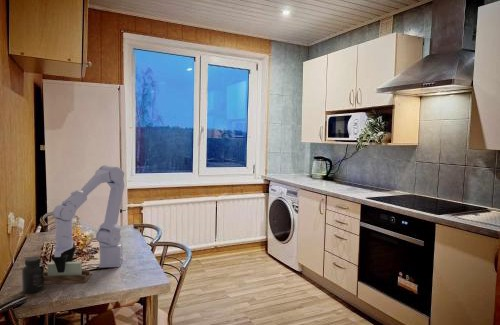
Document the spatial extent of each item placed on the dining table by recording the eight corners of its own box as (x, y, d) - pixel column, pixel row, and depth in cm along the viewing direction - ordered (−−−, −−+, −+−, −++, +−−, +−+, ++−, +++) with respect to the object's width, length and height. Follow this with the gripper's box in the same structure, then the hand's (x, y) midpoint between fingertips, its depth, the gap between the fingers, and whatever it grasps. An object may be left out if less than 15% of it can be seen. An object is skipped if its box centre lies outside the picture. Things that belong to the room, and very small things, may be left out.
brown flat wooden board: (91, 274, 142) (91, 268, 142) (85, 282, 135) (85, 276, 134) (44, 276, 140) (44, 270, 139) (35, 284, 132) (35, 278, 132)
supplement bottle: (17, 292, 125) (17, 260, 124) (35, 284, 132) (34, 254, 131) (31, 295, 123) (30, 263, 122) (48, 288, 129) (47, 257, 128)
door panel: (81, 275, 139) (81, 261, 139) (80, 277, 137) (79, 263, 137) (49, 277, 137) (49, 262, 137) (47, 279, 135) (47, 264, 135)
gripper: (60, 230, 142) (61, 262, 143) (45, 240, 128) (46, 276, 129) (78, 229, 143) (79, 261, 144) (65, 240, 129) (66, 275, 130)
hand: (64, 268), depth 137 cm, fingers open, 7 cm apart
